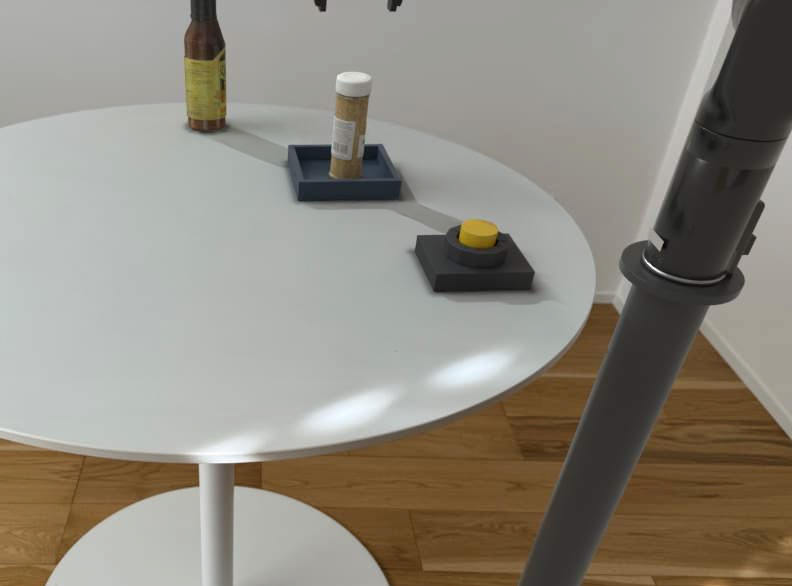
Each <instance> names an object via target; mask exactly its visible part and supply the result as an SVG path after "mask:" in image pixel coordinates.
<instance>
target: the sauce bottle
mask: <svg viewBox="0 0 792 586" xmlns="http://www.w3.org/2000/svg"><path fill="white" fill-rule="evenodd" d="M217 14H218V13H217V0H190V14H189V16H190V19H191V20H190V23H189V25H188V26H187V28H186V30H185V33H184V37H183V44H184V56H183V62H184V63H183V64H184V85H185V104H186V105H185V106H186V117H187V124H188V126H189V127H190V128H191V129H192V130H195V131H199V132H213V131H215V132H216V131H218V130H220V129H223V128H224V127H225V125H226V124H227V123H226V122H227V119H226V117H227V53H226V52H227V51H226V50H227V48H226V42H225V41H226V40H225V38H224V35H223V33H222V29H221V26H220V23H219V19H218V15H217Z"/></svg>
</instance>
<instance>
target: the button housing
mask: <svg viewBox="0 0 792 586" xmlns="http://www.w3.org/2000/svg"><path fill="white" fill-rule="evenodd" d="M461 226H462V224H458V225H455V226H452V227H450V228H449V229H448V230H447V231H446V232H445V233H446V234H417V236H416V242H415V247H414V254H415V256H416V258H417V259H418V262H419V264H420V266H421V268H422V271H423V273H424V275H425V277H426V279H427V281H428V283H429V285H430V287H431V289H432V291H433V292H465V291H504V290H509V291H510V290H531V288H532V285H533V280H534V278H535V274H536V271H535V270H534V268H533V267H532V265H531V264H530V262H529V261H528V259H527V258H526V256H525V255H524V254H523V252H522V251H521V249H520V248H519V246H518V244H516V242H515V240H514V239H513V237H512V236H511V234H510V233H509V232H506V233H505V232H504V233H503V232H501V231H499V230H498V234H497V238H496V242H495V245H494V247H491V248H485V249H478V248H473V247H469V246H466V245H464V244H462V243H461V242H459V235H460V230H461Z"/></svg>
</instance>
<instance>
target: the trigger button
mask: <svg viewBox="0 0 792 586" xmlns="http://www.w3.org/2000/svg"><path fill="white" fill-rule="evenodd" d="M461 225H462V226H461V230H460V235H459V242H461V243H462V244H464V245H466V246H469V247H473V248H478V249H485V248H491V247H494V245H495V242H496V238H497V234H498V231H499V227H498V226H497V225H496V224H495V223H493V222H491V221H488V220H484V219H478V218H477V219H476V218H474V219H467V220H464V221H463V222H462V223H461Z"/></svg>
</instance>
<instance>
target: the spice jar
mask: <svg viewBox="0 0 792 586" xmlns="http://www.w3.org/2000/svg"><path fill="white" fill-rule="evenodd" d="M372 88H373V77H372V76H371V75H369V74H367V73H365V72H361V71H344V72H341V73H340V74H338V75H337V76H336V82H335V108H334V115H333V126H332V137H331V140H332V141H331V144H332V148H331V154H332V156H331V167H330V172H329V176H330V177H331V178H332V179H360V178H361V176H362V172H361V168H362V159H363V154H364V144H366V143H365V142H366V132H367V125H368V123H367V122H368V121H367V118H368V109H369V102H370V99H369V98H370V96H371V94H372Z"/></svg>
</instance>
